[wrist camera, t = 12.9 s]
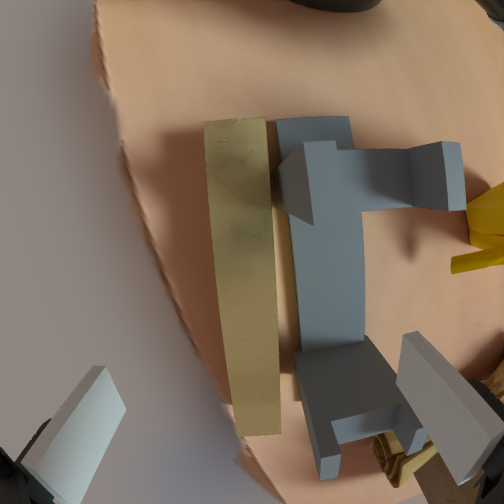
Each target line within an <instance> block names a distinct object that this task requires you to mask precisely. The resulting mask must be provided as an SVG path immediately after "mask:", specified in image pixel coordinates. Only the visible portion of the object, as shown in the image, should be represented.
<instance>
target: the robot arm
mask: <svg viewBox="0 0 504 504" xmlns="http://www.w3.org/2000/svg"><path fill="white" fill-rule="evenodd" d="M291 1H293V2H296V3H299V4H302V5H305V6H309V7H312V8H317V9H321V10H327V11H335V12H358V11H364V10H367V9H370V8H372V7H374V6H376V5H377V4H378V3H380V1H381V0H291ZM475 1H476V2H477V3H478V4H479V5H480V6H481V7H482V8H483V9H484V10H485V11H486V13H487V15H488V17H489V18H490V19H491V20H492V21H493V22H494V23H496V24H497V25H499V27H500V28H501V29H502V30H503V31H504V0H475ZM396 384H397V386H398V388H399V389H400V391H401V392H402V394H403V395H404V397H405V398H406V400H407V401H408V403H409V405H410V406H411V408H412V409H413V411H414V413H415V414H416V416H417V417H418V419H419V421H420V422H421V424H422V425H423V427H424V429H425V430H426V432H427V434H428V435H429V437H430V439H431V440H432V442H433V444H434V445H435V447H436V449H437V450H438V452H439V454H440V455H441V457H442V459H443V461H444V462H445V464H446V466H447V468H448V469H449V471H450V473H451V475H452V476H453V478H454V480H455V482H456V484H457V485H458V486H459V485H461V484H463V483H464V482H466V481H468V480H469V479H471V478H473V477H474V476H475V475H476V474H477V473H478V471H479V470H480V469H481V467H482V469H483V470H484V473H483V474H482V476H481V477H480V478H479V479H478V481H477V482H476V483H475V485H474V487H473V488H476V487H477V486H478V485H479V484H480V486H479V490H478V494H477V497H476V501H475V504H504V404H503V403H502V402H501V401H500V400H499V399H497V396H496V395H495V394H494V393H492V392H491V390H490V389H489V388H488V387H487V386H486V385H485V384H484V383H482V382H480V381H478V380H476V379H474V378H473V379H471V380H469V381H466V380H465V379H464V377H463V376H462V375H461V374H460V373H459V372H458V371H457V370H456V369H455V368H454V367H453V366H452V365H451V364H450V363H449V362H448V361H447V360H446V359H445V358H444V357H443V356H442V355H441V354H440V353H439V352H438V351H437V350H436V349H435V348H434V347H433V346H432V345H431V344H430V343H429V342H428V341H427V340H426V339H425V338H424V337H423V336H422V335H421V334H420V333H419V332H418V331H415V332H411V333H407V334H404V335H403V338H402V346H401V354H400V360H399V367H398V373H397V378H396ZM125 411H126V408H125V406H124V404H123V402H122V400H121V398H120V396H119V394H118V392H117V389H116V388H115V385H114V383H113V381H112V379H111V377H110V374H109V372H108V370H107V367H106V366H93V367H92V368H91V369H90V370H89V372H88V373H87V374H86V375H85V377H84V378H83V379H82V380H81V382H80V383H79V384H78V385H77V387H76V388H75V389H74V391H73V392H72V393H71V394H70V396H69V397H68V398H67V400H66V401H65V402H64V403H63V405H62V406H61V407H60V409H59V410H58V411H57V413H56V414H55V415H54V417H53V418H52V419H49V420H47V421H46V422H45V423H43V424H42V425H41V427H40V428H39V429H38V431H37V432H36V434H35V435H34V436H33V437H32V440H30V441H29V443H28V444H27V446H26V447H25V448H24V450H23V451H22V453H21V454H20V455H19V457H18V458H17V460H16V461H15V462H13V461H12V460H11V458H10V457H9V456H8V455H7V454H6V452H5V451H4V450H3V449H2V448H1V447H0V504H55V503H54V502H53V501H52V500H53V498H54V497H55V498H56V499H57V500H58V501H59V502H61V503H62V504H80V503H81V501H82V499H83V497H84V495H85V492H86V490H87V488H88V486H89V484H90V482H91V480H92V478H93V475H94V473H95V471H96V469H97V467H98V465H99V463H100V461H101V459H102V457H103V455H104V453H105V451H106V449H107V446H108V445H109V442H110V441H111V439H112V437H113V435H114V433H115V431H116V429H117V427H118V425H119V423H120V421H121V419H122V417H123V415H124V413H125Z"/></svg>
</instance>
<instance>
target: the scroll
mask: <svg viewBox="0 0 504 504" xmlns="http://www.w3.org/2000/svg"><path fill="white" fill-rule="evenodd" d="M484 384H485V385H486V386H487V387H488V388H489V389H490V390H491V392H492V393H494V394H495V395H496V396H497V399H499V400H500V401H501V402H502V403H503V404H504V359H503V360H502V361H501V363H500V364H499V366H498V367H497V368H496V370H495V371H494V372H493V373H492V374H491V375H490V377H489V378H488V379H487V380H486V381H485V382H484ZM373 441H374V444H373V445H372V449H373V454H374V455H376V458H377V460H378V462H379V464H380V467H381V469H382V472H385V474H386V476H387V479H388V480H389V482H390V483H391V485H392V486H393V487H394V488H398V487H400V486H401V485H402V484H403V483H404V482H405V481H406V480H407V479H408V478H409V477H410V476H411V475H412V474H413V473H414V472H415V471H416V470H417V469H419V468H420V467H421V466H422V465H423V464H425V463H426V462H427V461H428V460H429V459H430V458H431V457H433V456H434V455H435V454H436V453H437V452H438V450H437V449H436V447H435V445H434V444H433V442H432V440H431V439H430V437H429V435H427V438H426V440H425V443H424V445H423V447H422V450H420V451H418V452H416V453H413V454H411V455H408V456H406V454H405V452H404V450H403V448H402V446H401V444H400V442H399V441H398V439H397V437H396V435H395V433H394V431H393V430H390V431H387V432H383V433H380V434H377V435H374V436H373Z"/></svg>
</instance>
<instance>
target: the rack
mask: <svg viewBox="0 0 504 504" xmlns="http://www.w3.org/2000/svg"><path fill="white" fill-rule="evenodd" d="M275 127H276V133H277V140H278V147H279V154H280V161H281V164H280V165H279V166H278V167H277V168H276V169H275V170H274V171H273V173H274V181H275V188H276V196H277V204H278V208H279V209H281V210H283V211H285V212H287V214H288V222H289V231H290V240H291V249H292V258H293V268H294V278H295V288H296V299H297V311H298V323H299V335H300V349H295V350H293V354H294V367H295V376H296V380H297V385H298V389H299V393H300V397H301V401H302V406H303V410H304V414H305V419H306V423H307V427H308V431H309V436H310V440H311V445H312V449H313V453H314V458H315V462H316V467H317V471H318V475H319V480H320V481H323V480H328V479H332V478H337V477H338V473H339V467H340V460H341V451H340V448H339V445H340V444H344V443H348V442H352V441H356V440H360V439H363V438H367V437H370V436H374V435H377V434H380V433H383V432H387V431H390V430H393V431H394V433H395V435H396V437H397V439H398V441H399V442H400V444H401V446H402V448H403V450H404V452H405V454H406V456H408V455H411V454H413V453H416V452H418V451H420V450H422V447H423V445H424V443H425V440H426V438H427V435H428V434H427V432H426V430H425V429H424V427H423V425H422V424H421V422H420V421H419V419H418V417H417V416H416V414H415V413H414V411H413V409H412V408H411V406H410V405H409V403H408V401H407V400H406V398H405V397H404V395H403V394H402V392H401V391H400V389H399V388H398V386H397V384H396V378H397V374H396V373H395V372H394V370H393V369H392V368H391V366H390V365H389V364H388V362H387V361H386V360H385V358H384V357H383V356H382V354H381V353H380V352H379V351H378V349H377V348H376V347H375V345H374V344H373V343H372V341H371V340H370V339H369V338H368V336H364V333H365V262H364V241H363V225H362V213H361V212H364V211H374V210H384V209H394V208H404V207H421V208H429V209H436V210H443V211H457V210H466V192H465V180H464V170H463V162H462V154H461V147H460V143H457V142H445V141H440V142H436V143H431V144H426V145H422V146H418V147H413V148H409V149H356V150H354V146H353V140H352V134H351V128H350V123H349V117H348V116H329V117H307V118H292V119H280V120H276V121H275Z"/></svg>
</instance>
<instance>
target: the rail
mask: <svg viewBox="0 0 504 504" xmlns="http://www.w3.org/2000/svg"><path fill="white" fill-rule="evenodd" d="M203 128H204V146H205V162H206V176H207V190H208V203H209V215H210V226H211V237H212V248H213V258H214V267H215V277H216V286H217V295H218V303H219V312H220V320H221V328H222V336H223V343H224V351H225V358H226V365H227V372H228V379H229V386H230V393H231V399H232V405H233V412H234V418H235V424H236V430H237V436H260V435H274V434H281V408H280V369H279V339H278V314H277V292H276V272H275V253H274V235H273V219H272V203H271V188H270V174H269V161H268V147H267V135H266V123H265V117H255V118H240V119H228V120H218V121H208V122H203Z"/></svg>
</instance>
